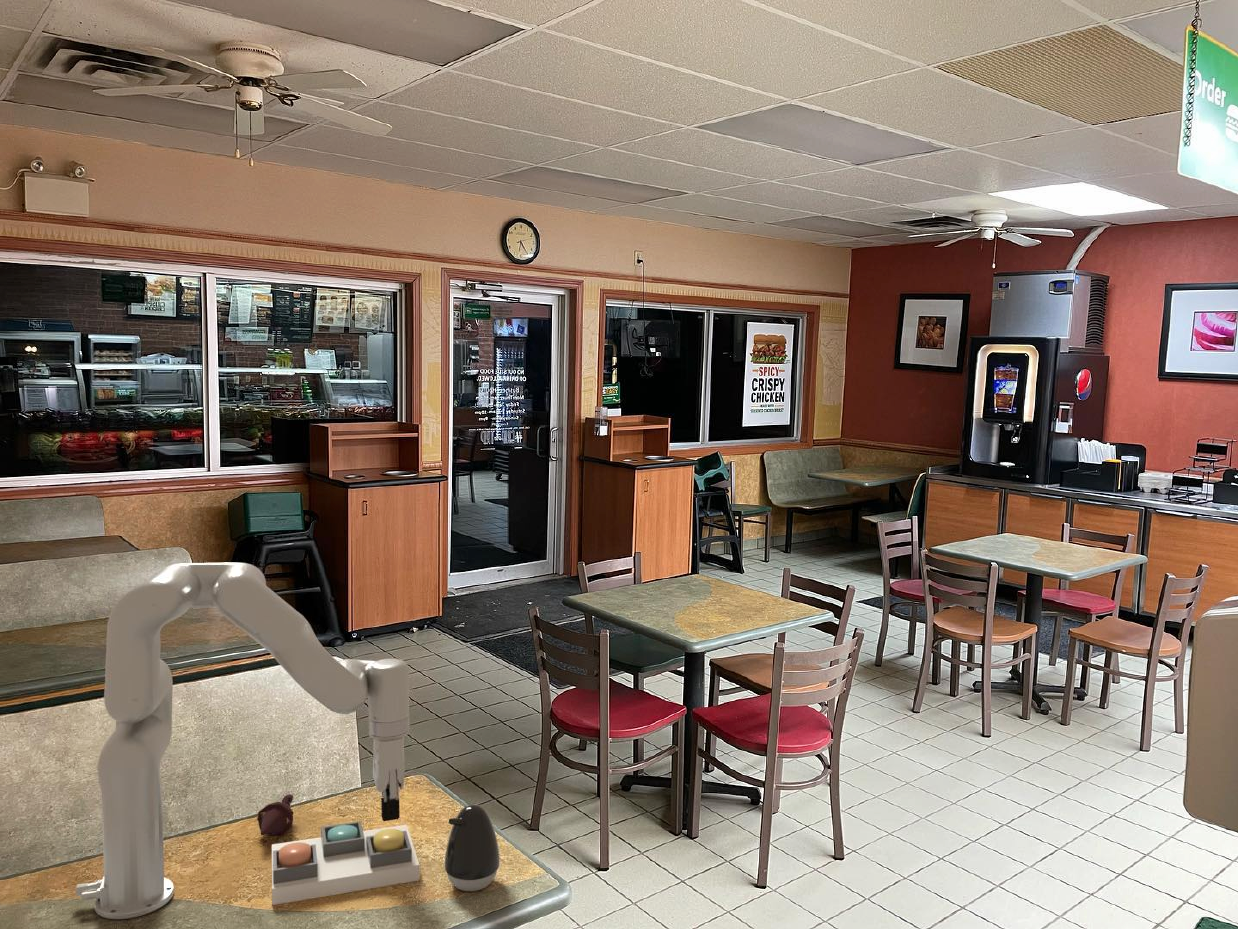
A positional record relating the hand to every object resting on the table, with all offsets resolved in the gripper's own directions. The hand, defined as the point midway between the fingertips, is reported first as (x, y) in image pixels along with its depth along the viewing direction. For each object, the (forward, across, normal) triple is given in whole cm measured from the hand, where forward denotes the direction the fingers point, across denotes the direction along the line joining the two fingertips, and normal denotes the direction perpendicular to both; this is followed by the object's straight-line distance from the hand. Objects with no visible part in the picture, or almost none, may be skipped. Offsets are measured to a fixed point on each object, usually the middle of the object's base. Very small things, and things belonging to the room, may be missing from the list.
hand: (390, 818), depth 176 cm
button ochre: (+6, 0, 0) cm, 6 cm away
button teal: (+7, -7, -8) cm, 13 cm away
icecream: (+10, -22, -21) cm, 32 cm away
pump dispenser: (+11, +10, +14) cm, 20 cm away
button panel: (+10, -3, -8) cm, 14 cm away
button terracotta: (+6, 0, -17) cm, 18 cm away
